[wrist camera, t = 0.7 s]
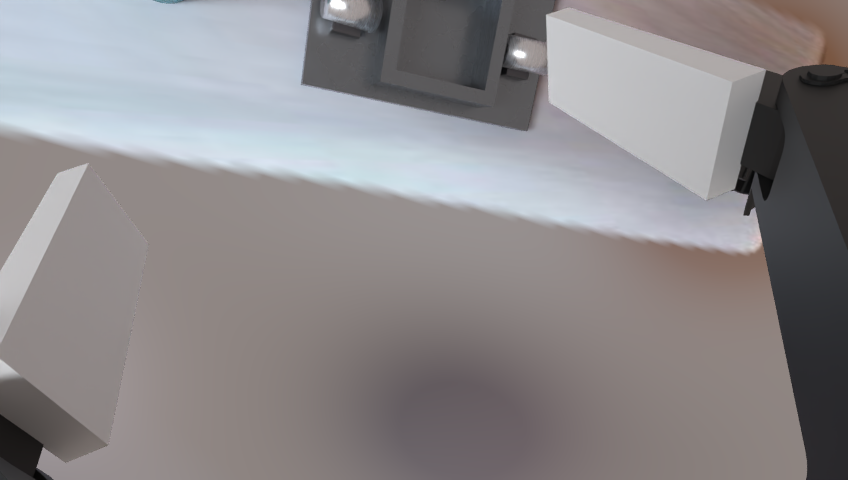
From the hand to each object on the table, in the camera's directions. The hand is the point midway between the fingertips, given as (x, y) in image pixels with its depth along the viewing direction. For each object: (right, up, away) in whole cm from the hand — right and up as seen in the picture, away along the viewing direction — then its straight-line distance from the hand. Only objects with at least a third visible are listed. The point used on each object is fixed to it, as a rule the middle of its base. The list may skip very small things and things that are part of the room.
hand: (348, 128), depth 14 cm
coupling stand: (+3, +13, +24) cm, 27 cm away
